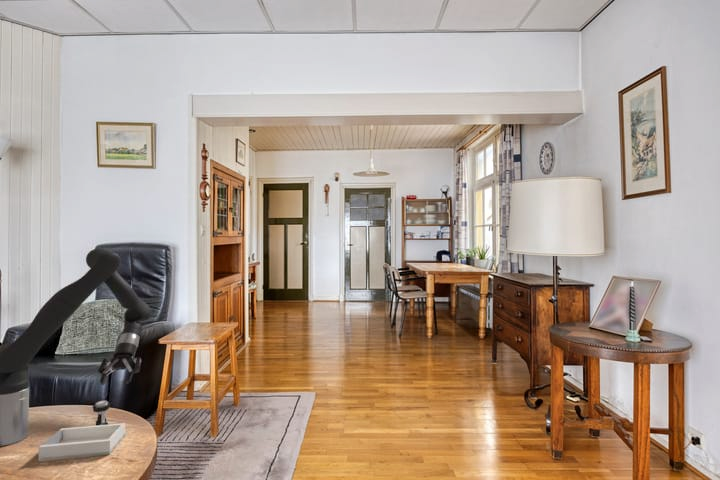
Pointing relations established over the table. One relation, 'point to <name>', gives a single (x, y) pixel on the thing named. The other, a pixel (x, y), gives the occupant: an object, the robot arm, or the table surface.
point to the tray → (82, 442)
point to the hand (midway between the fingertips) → (114, 383)
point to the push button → (101, 412)
